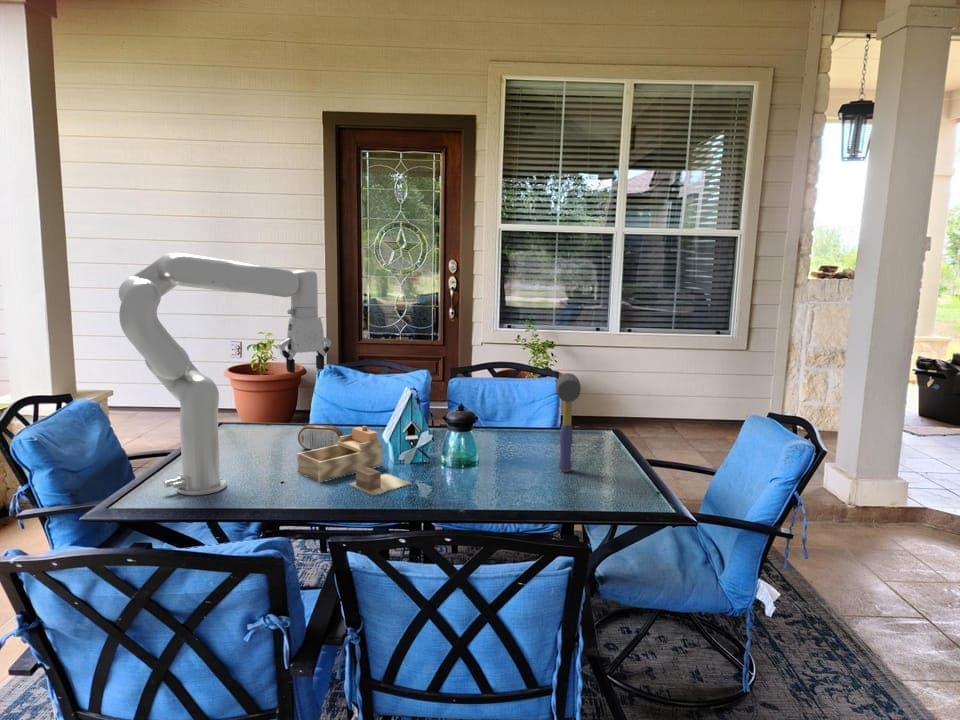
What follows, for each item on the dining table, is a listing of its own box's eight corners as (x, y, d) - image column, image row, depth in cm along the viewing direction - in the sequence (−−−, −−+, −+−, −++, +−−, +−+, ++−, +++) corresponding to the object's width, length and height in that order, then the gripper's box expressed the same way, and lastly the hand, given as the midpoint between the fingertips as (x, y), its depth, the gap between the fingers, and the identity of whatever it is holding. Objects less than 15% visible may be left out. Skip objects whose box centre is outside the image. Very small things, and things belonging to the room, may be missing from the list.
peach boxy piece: (369, 445, 200) (369, 430, 200) (352, 439, 206) (352, 424, 206) (377, 443, 202) (377, 428, 202) (360, 437, 209) (360, 423, 208)
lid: (373, 497, 178) (372, 478, 177) (348, 487, 186) (347, 468, 185) (411, 486, 187) (411, 467, 187) (386, 476, 195) (386, 458, 194)
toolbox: (319, 482, 187) (319, 454, 186) (297, 472, 195) (297, 445, 194) (381, 466, 203) (381, 439, 202) (358, 458, 211) (358, 432, 210)
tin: (343, 449, 220) (343, 425, 219) (341, 452, 217) (340, 427, 216) (300, 447, 221) (300, 423, 220) (296, 450, 218) (296, 425, 217)
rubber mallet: (577, 478, 196) (582, 379, 191) (552, 476, 197) (556, 378, 192) (576, 465, 208) (580, 372, 204) (552, 464, 209) (556, 371, 205)
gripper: (284, 315, 183) (285, 375, 186) (337, 312, 195) (337, 369, 198) (271, 313, 188) (272, 372, 191) (323, 310, 201) (324, 366, 203)
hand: (305, 370), depth 194 cm, fingers open, 9 cm apart
